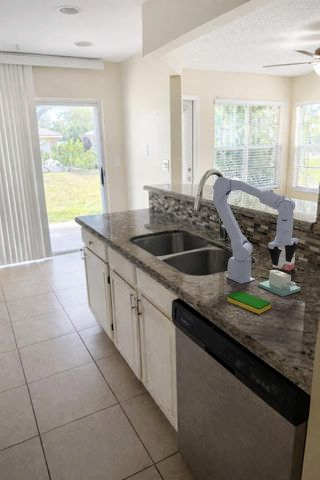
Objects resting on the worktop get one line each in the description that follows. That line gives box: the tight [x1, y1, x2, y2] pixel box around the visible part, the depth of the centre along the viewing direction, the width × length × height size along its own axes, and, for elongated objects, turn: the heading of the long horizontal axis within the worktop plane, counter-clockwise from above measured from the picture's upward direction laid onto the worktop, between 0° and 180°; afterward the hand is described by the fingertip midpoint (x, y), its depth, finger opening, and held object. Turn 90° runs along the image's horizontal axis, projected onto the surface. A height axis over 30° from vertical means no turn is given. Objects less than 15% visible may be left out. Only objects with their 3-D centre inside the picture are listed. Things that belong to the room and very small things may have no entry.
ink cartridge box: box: [272, 236, 296, 272], centre depth 157 cm, size 9×5×15 cm, turn 47°
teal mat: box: [258, 279, 301, 297], centre depth 137 cm, size 12×10×1 cm
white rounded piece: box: [268, 269, 297, 290], centre depth 135 cm, size 11×4×5 cm, turn 32°
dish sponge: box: [227, 290, 272, 314], centre depth 124 cm, size 7×14×2 cm, turn 40°
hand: (281, 263), depth 137 cm, fingers open, 7 cm apart
